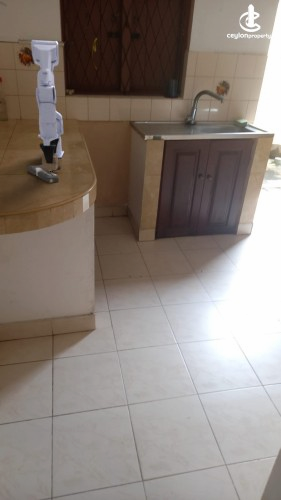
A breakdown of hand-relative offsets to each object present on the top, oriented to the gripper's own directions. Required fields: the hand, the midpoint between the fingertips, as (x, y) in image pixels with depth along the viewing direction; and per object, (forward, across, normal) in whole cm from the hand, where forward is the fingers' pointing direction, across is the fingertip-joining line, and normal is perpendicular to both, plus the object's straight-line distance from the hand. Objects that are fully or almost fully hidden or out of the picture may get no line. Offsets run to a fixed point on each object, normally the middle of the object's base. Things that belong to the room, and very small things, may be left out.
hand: (51, 160), depth 133 cm
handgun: (+6, +1, 0) cm, 6 cm away
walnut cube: (+3, 0, 0) cm, 3 cm away
